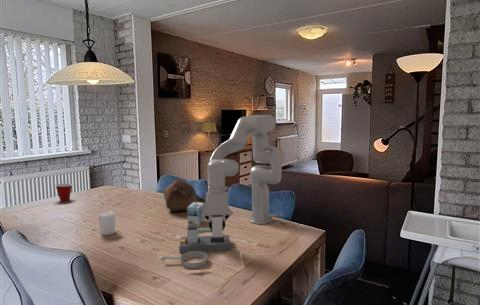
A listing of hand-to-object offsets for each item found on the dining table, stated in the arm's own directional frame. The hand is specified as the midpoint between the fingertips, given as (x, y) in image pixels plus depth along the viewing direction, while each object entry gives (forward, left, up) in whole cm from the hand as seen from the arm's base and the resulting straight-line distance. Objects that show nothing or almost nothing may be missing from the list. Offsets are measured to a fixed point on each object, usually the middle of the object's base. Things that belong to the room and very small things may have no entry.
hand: (217, 229), depth 139 cm
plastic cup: (+105, -94, -9) cm, 142 cm away
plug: (0, 0, -3) cm, 3 cm away
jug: (+17, -60, -9) cm, 62 cm away
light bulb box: (+10, -34, -9) cm, 37 cm away
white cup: (+55, -26, -9) cm, 62 cm away
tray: (+5, -14, -9) cm, 18 cm away
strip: (+5, 0, -9) cm, 11 cm away
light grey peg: (+11, 0, -8) cm, 14 cm away
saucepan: (+13, +14, -9) cm, 22 cm away
